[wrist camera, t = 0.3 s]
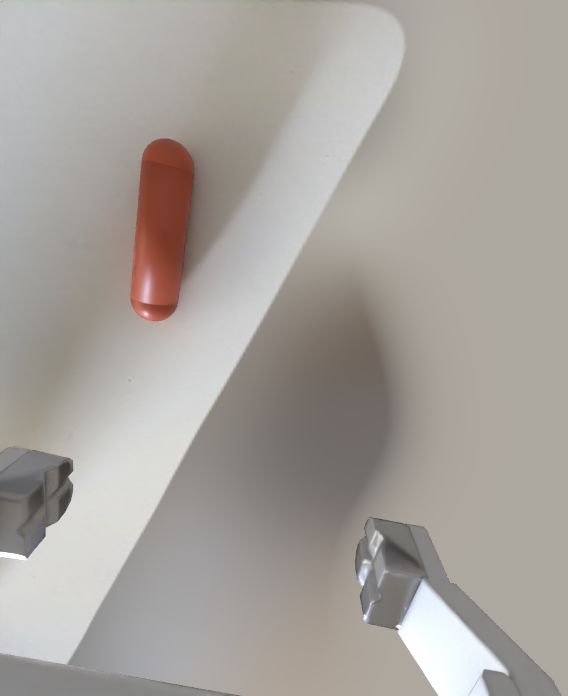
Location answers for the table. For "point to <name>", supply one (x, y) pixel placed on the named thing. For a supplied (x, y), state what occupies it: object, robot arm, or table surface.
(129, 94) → the table surface
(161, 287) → the orange round-ended cylinder
